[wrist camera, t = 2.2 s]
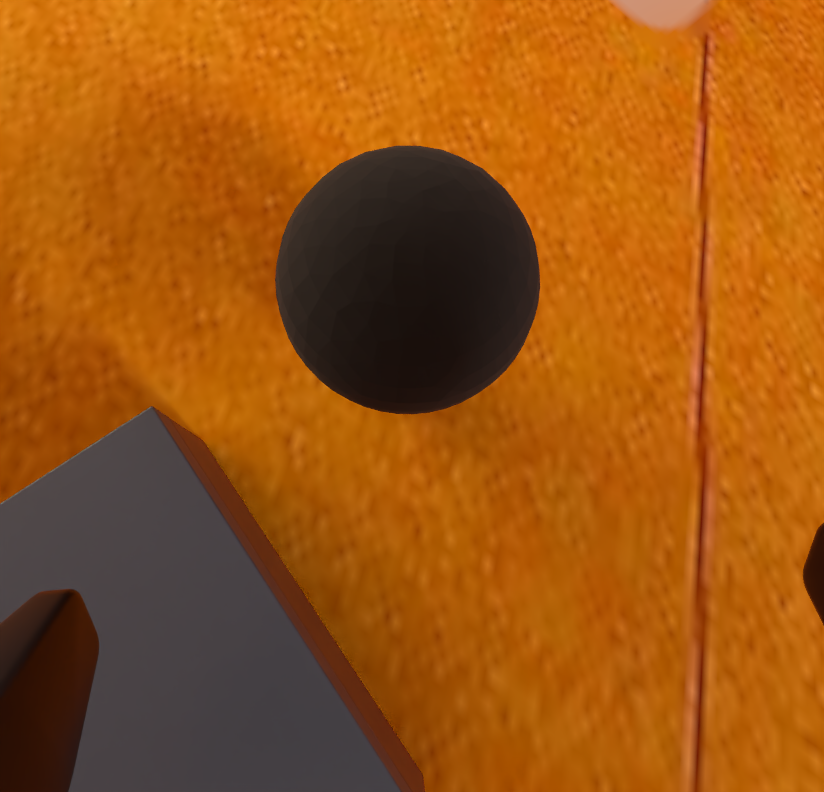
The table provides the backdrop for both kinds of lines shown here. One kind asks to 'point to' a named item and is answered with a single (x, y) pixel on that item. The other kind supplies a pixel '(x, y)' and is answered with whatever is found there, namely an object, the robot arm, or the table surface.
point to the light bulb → (407, 279)
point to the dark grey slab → (191, 629)
